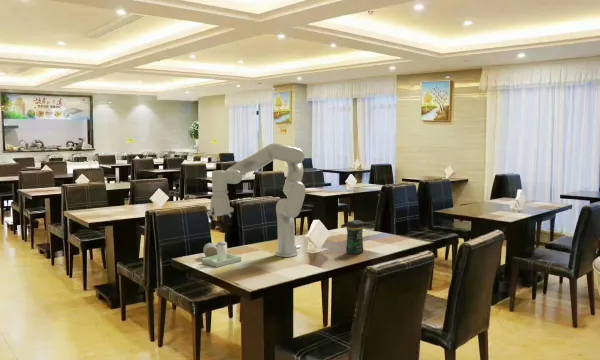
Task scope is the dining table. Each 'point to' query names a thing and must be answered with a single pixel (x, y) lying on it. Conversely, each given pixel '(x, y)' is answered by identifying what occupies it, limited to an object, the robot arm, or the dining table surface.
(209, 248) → the ceramic mug
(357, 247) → the coffee jar
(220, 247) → the shaker
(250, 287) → the dining table surface
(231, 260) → the tray
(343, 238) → the dining table surface
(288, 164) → the robot arm
